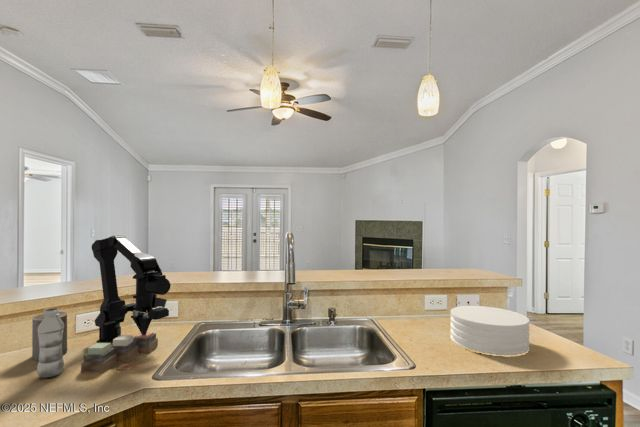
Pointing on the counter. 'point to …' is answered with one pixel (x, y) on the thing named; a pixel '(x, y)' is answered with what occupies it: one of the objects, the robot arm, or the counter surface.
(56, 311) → the plastic bottle
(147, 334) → the terracotta button
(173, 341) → the counter surface
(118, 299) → the robot arm
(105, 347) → the sage button
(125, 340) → the cream button
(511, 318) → the plate stack
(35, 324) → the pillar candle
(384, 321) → the counter surface
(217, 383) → the counter surface
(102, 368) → the button panel
